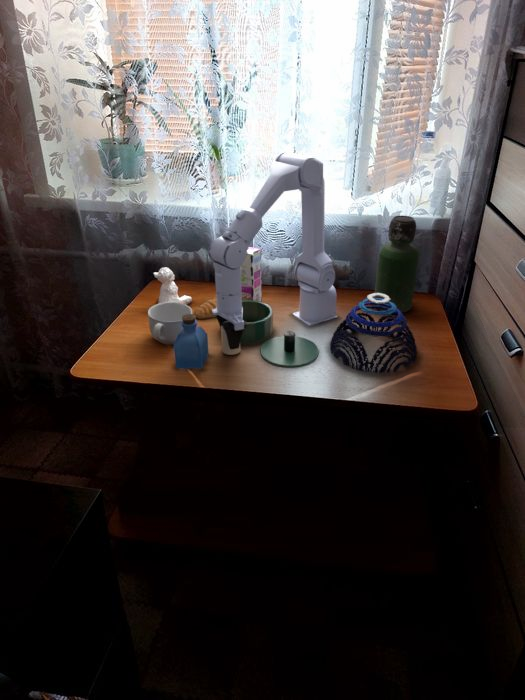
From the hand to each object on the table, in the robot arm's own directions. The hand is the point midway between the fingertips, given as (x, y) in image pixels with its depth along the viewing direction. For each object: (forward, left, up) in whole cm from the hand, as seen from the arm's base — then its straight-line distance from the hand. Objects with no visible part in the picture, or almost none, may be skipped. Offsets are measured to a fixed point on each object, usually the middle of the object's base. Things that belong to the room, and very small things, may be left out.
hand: (231, 343), depth 128 cm
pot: (-9, -8, -3) cm, 12 cm away
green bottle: (-51, 0, -3) cm, 51 cm away
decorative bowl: (-30, +16, -3) cm, 34 cm away
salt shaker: (0, 0, -2) cm, 2 cm away
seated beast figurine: (+2, -32, -3) cm, 32 cm away
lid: (-12, +7, -2) cm, 14 cm away
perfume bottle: (+9, -2, -3) cm, 10 cm away
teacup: (+10, -14, -3) cm, 17 cm away
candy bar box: (-16, -24, -3) cm, 28 cm away
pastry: (-6, -22, -3) cm, 22 cm away
